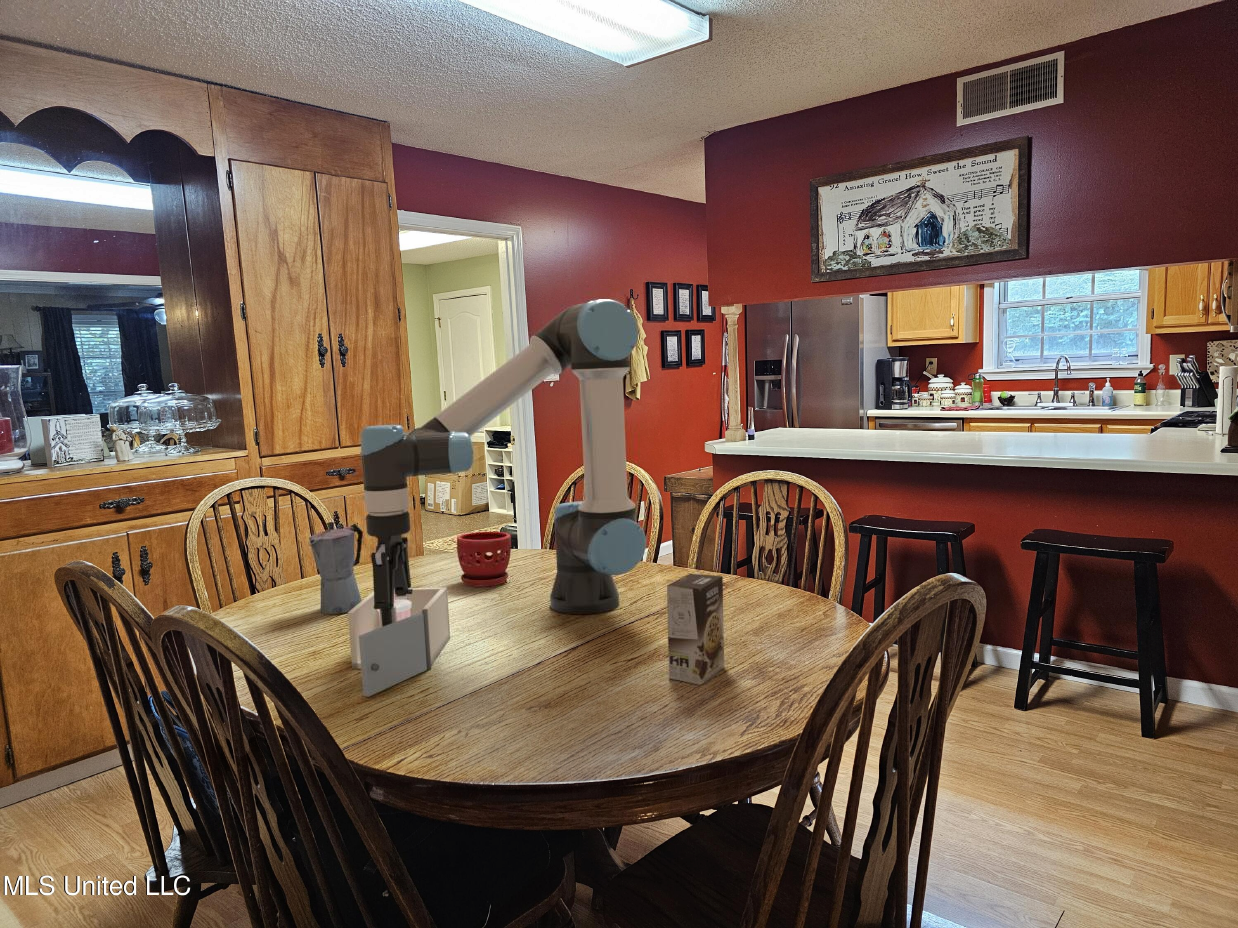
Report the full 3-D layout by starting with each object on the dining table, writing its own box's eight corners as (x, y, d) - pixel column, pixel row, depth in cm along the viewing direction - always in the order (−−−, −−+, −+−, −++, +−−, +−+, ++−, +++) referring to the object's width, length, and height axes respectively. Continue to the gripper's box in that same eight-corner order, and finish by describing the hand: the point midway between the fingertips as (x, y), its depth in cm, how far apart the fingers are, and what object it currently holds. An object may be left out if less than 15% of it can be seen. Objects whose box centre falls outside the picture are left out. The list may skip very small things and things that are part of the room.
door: (421, 668, 141) (417, 613, 140) (429, 670, 140) (426, 614, 139) (362, 695, 130) (357, 635, 129) (371, 697, 129) (366, 637, 128)
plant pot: (508, 588, 192) (506, 539, 190) (454, 590, 192) (451, 541, 191) (516, 574, 205) (514, 528, 203) (465, 576, 205) (462, 530, 204)
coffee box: (702, 686, 130) (700, 588, 128) (667, 679, 133) (664, 584, 131) (726, 667, 137) (724, 575, 135) (692, 661, 141) (690, 571, 139)
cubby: (452, 638, 157) (449, 584, 156) (430, 669, 141) (426, 610, 140) (379, 640, 158) (375, 586, 156) (349, 671, 141) (344, 612, 140)
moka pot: (300, 616, 175) (292, 526, 173) (348, 596, 189) (342, 513, 187) (334, 620, 172) (327, 528, 169) (381, 600, 186) (375, 515, 183)
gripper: (384, 503, 153) (392, 620, 156) (346, 523, 134) (357, 656, 136) (423, 502, 153) (430, 619, 155) (391, 521, 133) (400, 654, 136)
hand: (396, 636), depth 146 cm, fingers open, 6 cm apart
